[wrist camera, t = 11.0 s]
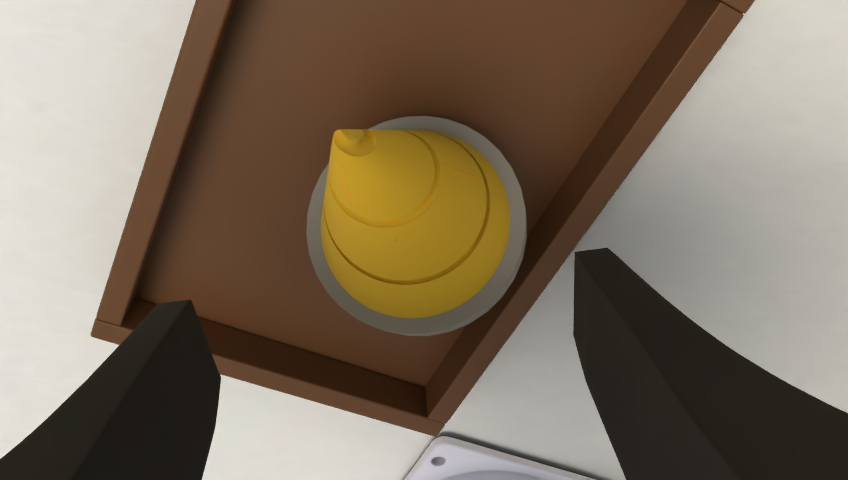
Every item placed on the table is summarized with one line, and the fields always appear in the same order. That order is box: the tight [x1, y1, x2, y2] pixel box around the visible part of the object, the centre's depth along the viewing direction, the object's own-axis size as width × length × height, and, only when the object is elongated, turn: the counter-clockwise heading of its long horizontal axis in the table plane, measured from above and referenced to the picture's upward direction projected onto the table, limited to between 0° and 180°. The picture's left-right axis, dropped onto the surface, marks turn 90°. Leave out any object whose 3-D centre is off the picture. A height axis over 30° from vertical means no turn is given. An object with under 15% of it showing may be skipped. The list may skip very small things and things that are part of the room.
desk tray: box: [91, 0, 755, 436], centre depth 18 cm, size 16×11×2 cm
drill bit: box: [306, 116, 527, 336], centre depth 16 cm, size 5×5×10 cm
